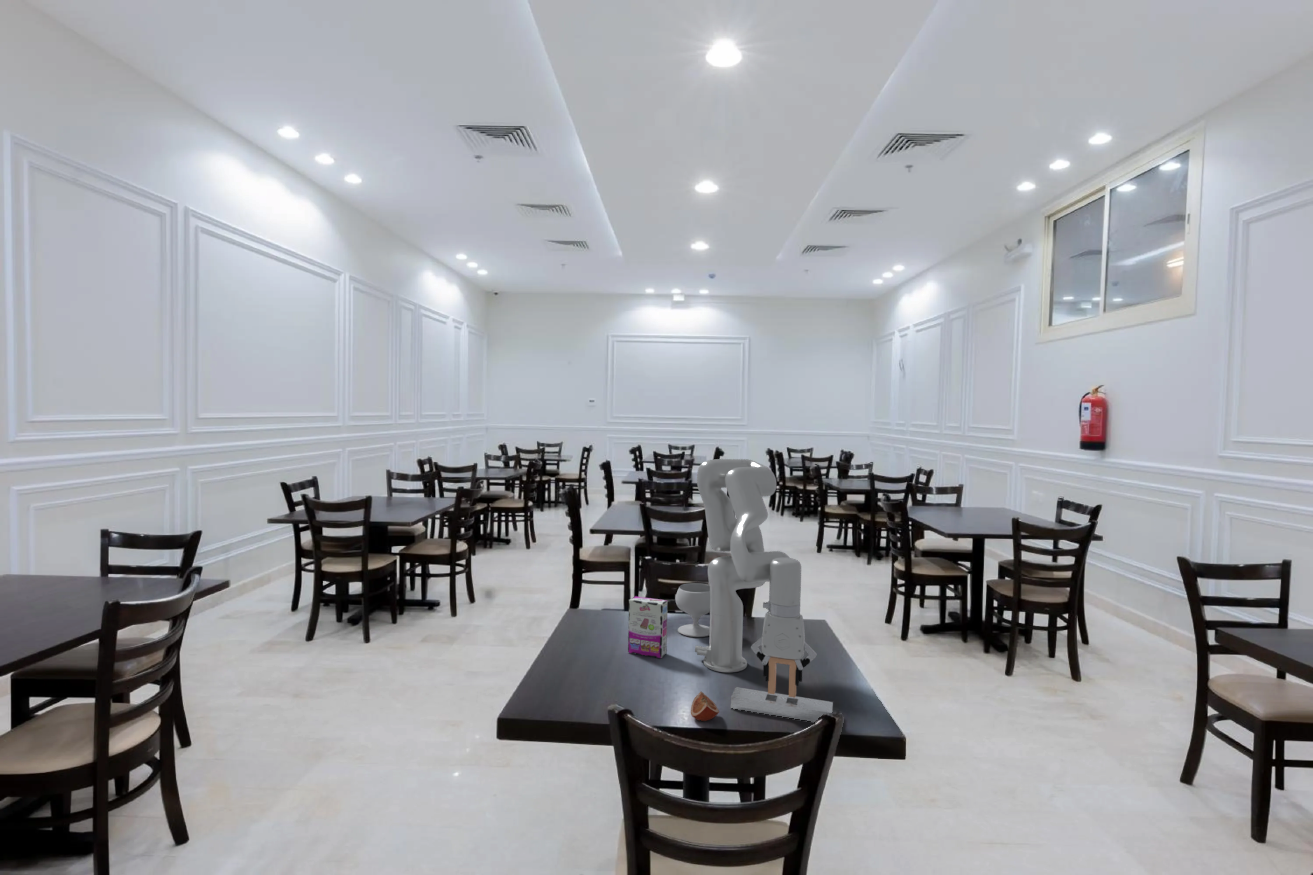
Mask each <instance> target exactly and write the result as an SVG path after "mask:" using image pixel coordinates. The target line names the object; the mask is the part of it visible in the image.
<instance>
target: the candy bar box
mask: <svg viewBox="0 0 1313 875" xmlns="http://www.w3.org/2000/svg"><path fill="white" fill-rule="evenodd" d="M668 603H669V602H668V600H664V599H661V598H660V599H658V598H651V597H643V596H637V595H635V596H633V597H632V598H630V599H628V629H627V633H628V636H627V639H628V640H627V641H628V642H627V644H628V645H627V652H629V654H632V653H636V654H635V655H638V654H640V655H639V656H643V655H645V657H649V656H650V657H649V658H655V657H656V658H655V659H662V658H663V657H664V656H665V654H666V655H667V653H668Z"/></svg>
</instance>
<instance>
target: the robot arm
mask: <svg viewBox="0 0 1313 875" xmlns="http://www.w3.org/2000/svg"><path fill="white" fill-rule="evenodd" d="M696 485H697V489H698V493H699V495H700V498H701V500H702V502H703V505H704V512H705V520H706V528H707V536H708V537H707V538H708V542H709V545H710V548H711V550H713V551H715V552H720V553H721V552H722V553H724V552H725V553H726V552H727V553H728V552H729V553H730V554H731V555H726V556H720V557H719V556H718V557H715V558H713V559H712V560H711V561H710V562H709V564H708V566H707V578H708V583H709V584H708V585H709V586H710V612H709V627H710V635H709V640H708V642H709V644H708V645H706V646H701V645H695V647H694V652H695V653H696V656H704V657H703V665H704V666H705V667H706V668H708V669H709V670H712V671H715V672H720V673H737V672H742V671H744V670H745V669H746V668H747V666H748V662H747V661H748V660H747V659H745V657H743V627H744V626H743V625H744V624H743V623H744V622H743V620H744V605H743V601H742V600H741V598H740V597H739V595H738V593H737V592H736V591H737V590H744V589H754V588H759V587H762V586H764V585H765V583H766V582H767V583H768V582H769V592H768V593H769V595H768V599H769V600H768V601H763V602H762V608H763V609H766V610H767V612H765V615H764V619H763V624H762V634H761V637H760V638H758V640H756V641H755V642H753V643H752V644H751V646H750V649H751V651H752V652H753V653H754V654H755V655H756V657H757V658H758V659H759V661H760V662H761V664H762V665H763V670H762V674H763V675H762V676H763V677H765V682H767V683H768V681H769V659H770V657H777V658H784V659H791V660H795V662H796V665H797V668H796V677H795V685H796V687H799V684H800V682H801V683H802V682H803V669H804V668H805V667H807V666H808V665H809V664H810V662H812V661H813V660H814V659H816V657H817V652H816V651H815V649H813V648H812V647H811V646H810V645H809V644H808V643H807V642H806V634H805V632H806V631H805V623H804V618H803V615H802V614H801V591H802V588H801V587H802V564H801V562H800V560H798V559H796V558H792V557H790V556H789V555H788V554H786V553H785V552H783V551H781V550H780V551H779V550H777V551H776V550H775V551H774V550H773V551H772V550H771V551H765V548H764V541H763V535H762V530H761V527H760V526H761V525H762V524H763V523H765V522H766V520H767V519H768V516H769V513H768V512H769V511H768V509H767V507H766V504H765V501H764V499H763V497H771V496H773V495H774V494H775V492H776V489H777V479H776V476H775V473H774V472H773V471H772V470H771V469H770V468H769V467H767V466H766V465H764V464H762V463H759V462H757V461H755V460H753V459H746V458H744V459H743V458H739V459H738V458H735V459H734V458H733V459H732V458H729V459H728V458H719V459H718V458H717V459H709V460H705V461H703V462H702V463H701V464H700V465H699V466H698V469H697V473H696ZM722 488H723V489H725V488H726V490H727V493H728V495H727V493H726V492H725V491H724V490H722ZM759 647H761V649H760V648H759ZM805 652H806V653H807V654H808V655H807V656H806V657H804V656H805Z"/></svg>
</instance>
